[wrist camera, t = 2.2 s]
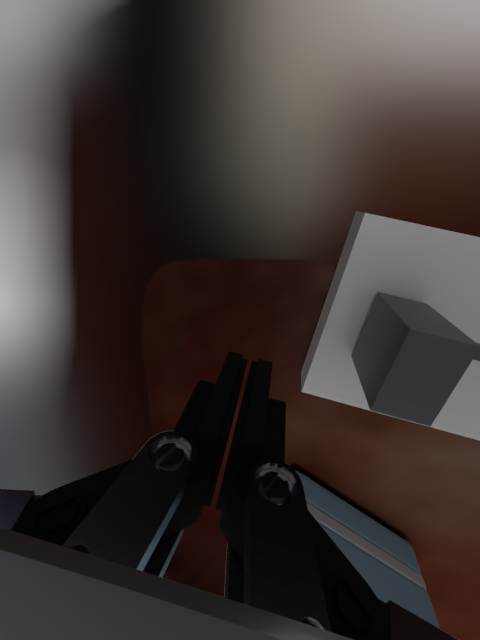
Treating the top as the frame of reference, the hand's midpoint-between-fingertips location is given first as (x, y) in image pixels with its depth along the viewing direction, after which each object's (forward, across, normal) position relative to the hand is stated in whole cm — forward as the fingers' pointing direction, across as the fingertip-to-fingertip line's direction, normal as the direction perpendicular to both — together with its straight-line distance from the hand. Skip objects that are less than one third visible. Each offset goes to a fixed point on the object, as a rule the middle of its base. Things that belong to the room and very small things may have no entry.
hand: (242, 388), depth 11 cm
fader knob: (+10, -9, 0) cm, 14 cm away
